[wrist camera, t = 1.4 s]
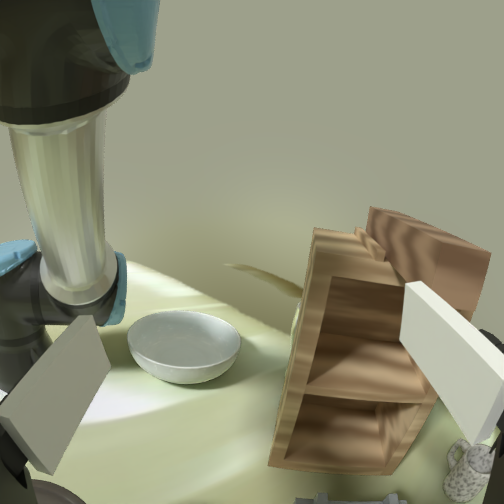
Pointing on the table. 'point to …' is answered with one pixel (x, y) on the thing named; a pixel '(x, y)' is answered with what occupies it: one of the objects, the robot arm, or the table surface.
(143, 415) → the table surface
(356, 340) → the oak stand
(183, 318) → the serving bowl
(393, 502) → the grey cradle
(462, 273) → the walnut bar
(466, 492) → the mug
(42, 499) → the coffee can
